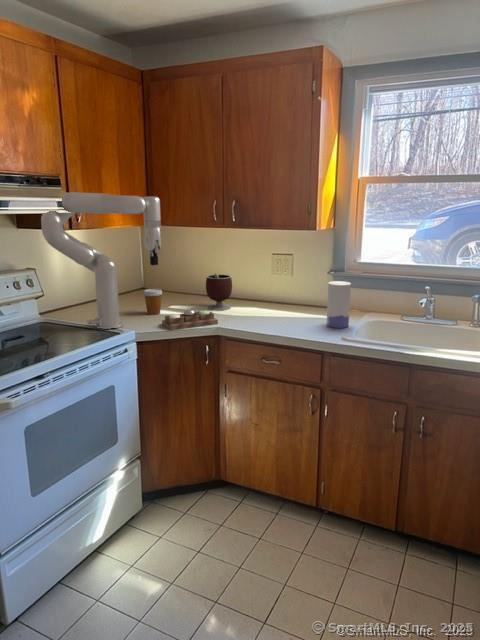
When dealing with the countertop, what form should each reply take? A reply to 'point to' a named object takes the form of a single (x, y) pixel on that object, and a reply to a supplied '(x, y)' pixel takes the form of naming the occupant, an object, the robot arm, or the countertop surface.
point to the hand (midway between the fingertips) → (154, 264)
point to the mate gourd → (219, 290)
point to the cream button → (174, 316)
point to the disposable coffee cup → (153, 300)
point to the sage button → (204, 312)
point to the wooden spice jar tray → (189, 321)
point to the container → (338, 304)
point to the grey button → (189, 312)
